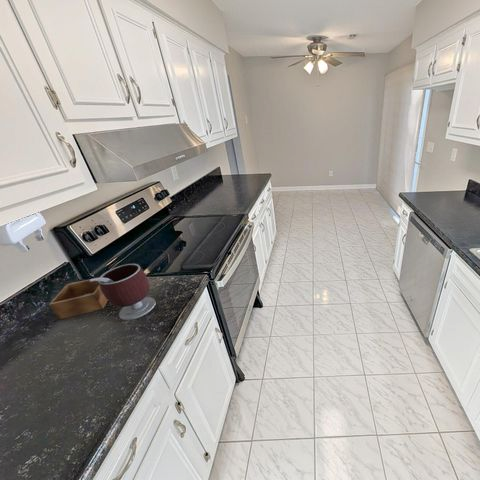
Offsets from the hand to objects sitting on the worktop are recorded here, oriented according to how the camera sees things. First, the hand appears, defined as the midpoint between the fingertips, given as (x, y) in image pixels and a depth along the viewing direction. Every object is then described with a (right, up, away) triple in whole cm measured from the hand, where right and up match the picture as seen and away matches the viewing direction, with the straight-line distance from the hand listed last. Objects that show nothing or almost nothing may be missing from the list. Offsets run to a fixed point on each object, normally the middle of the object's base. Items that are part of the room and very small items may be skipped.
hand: (33, 245), depth 95 cm
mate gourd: (+35, -26, +4) cm, 44 cm away
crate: (+12, -25, +10) cm, 29 cm away
